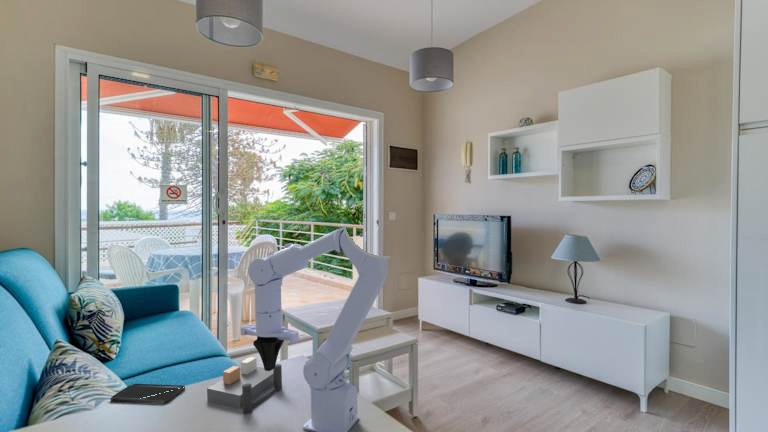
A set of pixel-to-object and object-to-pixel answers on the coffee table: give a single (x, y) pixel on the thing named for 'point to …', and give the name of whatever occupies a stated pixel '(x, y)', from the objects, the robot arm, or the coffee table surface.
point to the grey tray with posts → (233, 392)
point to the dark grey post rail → (277, 387)
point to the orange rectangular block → (231, 375)
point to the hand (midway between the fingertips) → (269, 369)
